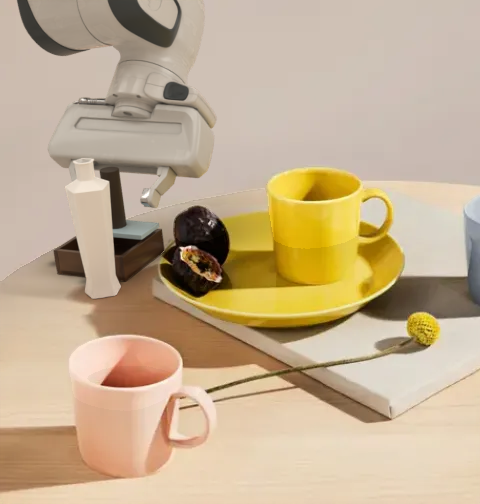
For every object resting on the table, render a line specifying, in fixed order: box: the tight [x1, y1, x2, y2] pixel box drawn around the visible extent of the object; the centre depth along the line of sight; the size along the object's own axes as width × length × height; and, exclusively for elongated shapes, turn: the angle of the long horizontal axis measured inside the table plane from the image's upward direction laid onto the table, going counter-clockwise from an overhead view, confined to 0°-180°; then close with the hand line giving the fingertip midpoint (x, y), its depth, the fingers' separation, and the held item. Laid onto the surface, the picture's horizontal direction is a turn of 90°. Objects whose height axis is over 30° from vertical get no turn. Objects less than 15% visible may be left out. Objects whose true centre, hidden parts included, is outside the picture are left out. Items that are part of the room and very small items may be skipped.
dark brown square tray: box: [52, 228, 165, 282], centre depth 111 cm, size 9×9×3 cm
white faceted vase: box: [64, 158, 122, 300], centre depth 101 cm, size 5×4×15 cm
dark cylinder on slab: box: [99, 167, 160, 240], centre depth 111 cm, size 9×4×8 cm, turn 73°
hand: (112, 202), depth 111 cm, fingers open, 8 cm apart
